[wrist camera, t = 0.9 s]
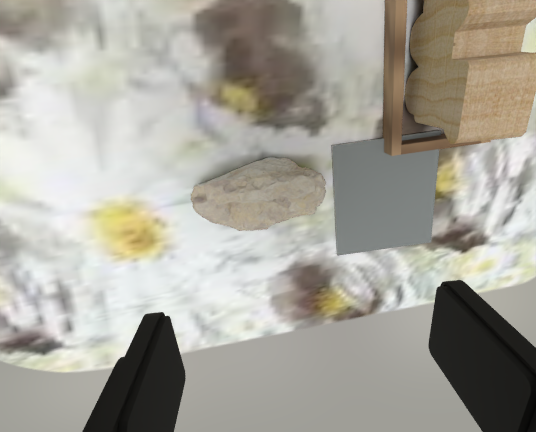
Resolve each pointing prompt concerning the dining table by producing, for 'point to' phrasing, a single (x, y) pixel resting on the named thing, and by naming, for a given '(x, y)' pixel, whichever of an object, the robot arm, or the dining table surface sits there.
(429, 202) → the slate mat
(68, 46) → the dining table surface
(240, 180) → the stone
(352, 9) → the dining table surface
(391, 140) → the pocket frame
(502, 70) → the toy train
